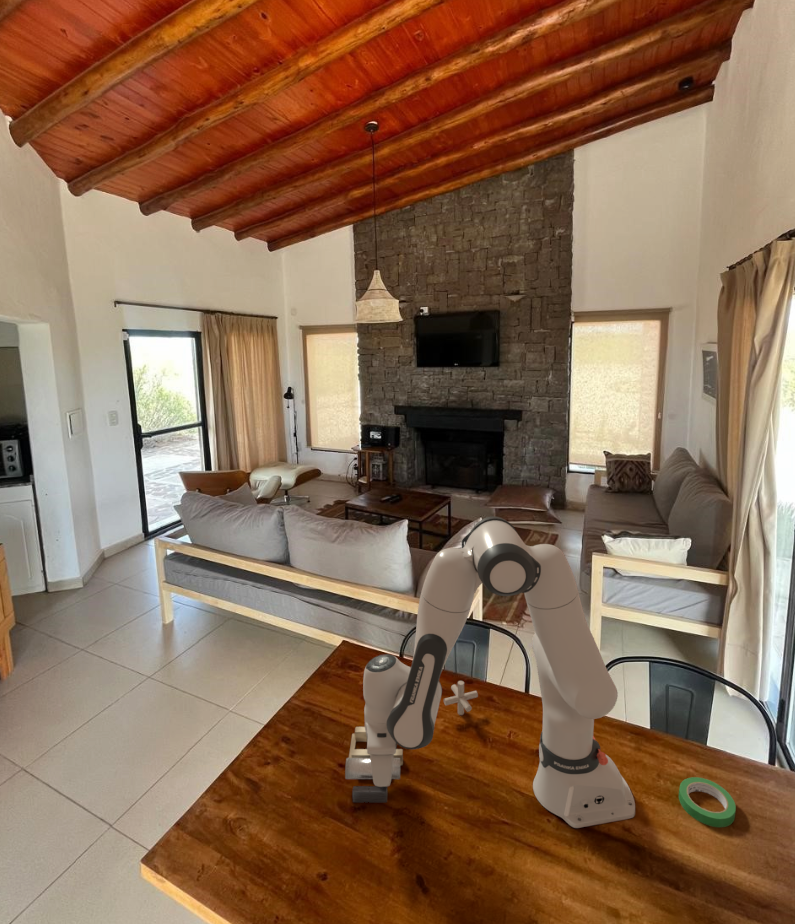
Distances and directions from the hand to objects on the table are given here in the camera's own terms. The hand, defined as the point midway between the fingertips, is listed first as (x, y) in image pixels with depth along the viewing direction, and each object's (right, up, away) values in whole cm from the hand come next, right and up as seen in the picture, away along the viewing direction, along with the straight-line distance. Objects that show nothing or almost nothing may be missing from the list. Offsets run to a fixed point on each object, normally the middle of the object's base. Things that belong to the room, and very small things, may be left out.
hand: (385, 770), depth 125 cm
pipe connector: (+21, +2, +25) cm, 33 cm away
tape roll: (+74, -5, -7) cm, 74 cm away
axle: (-3, 0, 0) cm, 3 cm away
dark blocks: (-3, -4, +1) cm, 6 cm away
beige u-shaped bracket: (-2, -2, +12) cm, 12 cm away
